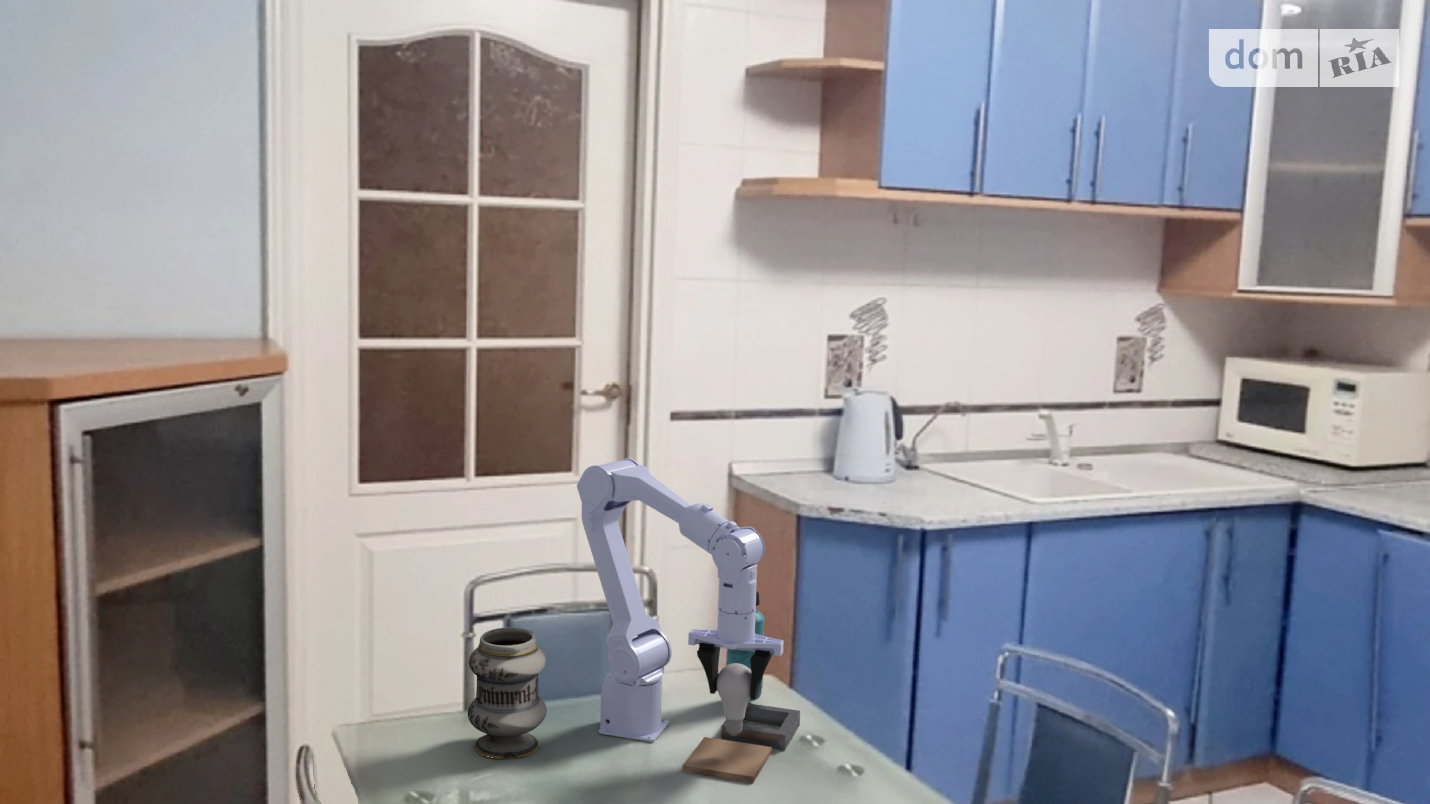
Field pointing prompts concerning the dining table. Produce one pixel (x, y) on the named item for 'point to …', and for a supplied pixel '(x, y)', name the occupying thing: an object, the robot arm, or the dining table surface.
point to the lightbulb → (734, 694)
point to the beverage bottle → (744, 655)
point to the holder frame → (764, 736)
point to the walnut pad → (727, 759)
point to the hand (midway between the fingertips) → (733, 694)
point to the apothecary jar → (507, 692)
